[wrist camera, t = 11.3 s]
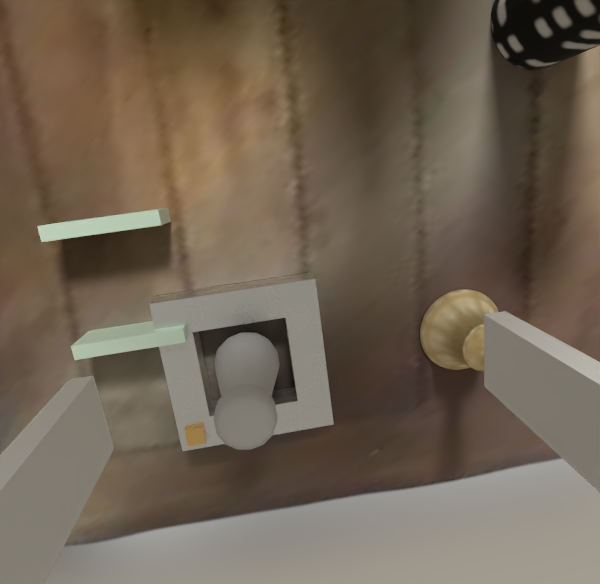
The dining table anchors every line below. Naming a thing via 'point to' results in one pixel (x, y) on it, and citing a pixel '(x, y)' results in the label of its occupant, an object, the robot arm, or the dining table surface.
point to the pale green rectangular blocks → (124, 335)
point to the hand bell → (456, 329)
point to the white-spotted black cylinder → (544, 30)
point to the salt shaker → (246, 390)
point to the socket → (236, 311)
